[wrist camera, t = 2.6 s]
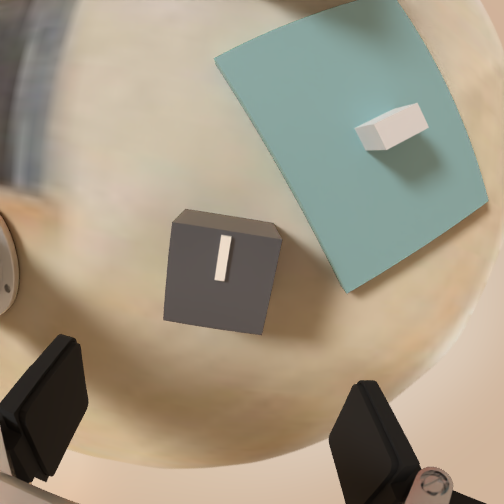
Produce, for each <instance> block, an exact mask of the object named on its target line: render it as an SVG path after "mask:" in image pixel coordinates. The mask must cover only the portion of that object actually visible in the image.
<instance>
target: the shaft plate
mask: <svg viewBox="0 0 504 504" xmlns="http://www.w3.org/2000/svg"><path fill="white" fill-rule="evenodd" d="M214 60H215V64H216V66H217V67H218V69H219V70H220V72H221V73H222V75H223V77H224V78H225V80H226V81H227V83H228V84H229V86H230V88H231V89H232V91H233V92H234V94H235V96H236V97H237V99H238V100H239V102H240V104H241V105H242V107H243V108H244V110H245V112H246V113H247V115H248V117H249V118H250V120H251V122H252V123H253V125H254V127H255V128H256V130H257V132H258V133H259V135H260V137H261V138H262V140H263V142H264V144H265V145H266V147H267V149H268V150H269V152H270V154H271V156H272V157H273V159H274V161H275V162H276V164H277V166H278V168H279V170H280V171H281V173H282V175H283V177H284V178H285V180H286V182H287V184H288V186H289V187H290V189H291V191H292V193H293V195H294V196H295V198H296V200H297V202H298V204H299V206H300V207H301V209H302V211H303V213H304V215H305V217H306V219H307V220H308V222H309V224H310V226H311V228H312V230H313V232H314V234H315V236H316V238H317V239H318V241H319V243H320V245H321V247H322V249H323V251H324V253H325V255H326V257H327V259H328V261H329V263H330V265H331V267H332V269H333V271H334V273H335V275H336V277H337V279H338V281H339V283H340V285H341V287H342V288H343V289H344V291H345V292H346V293H349V292H350V291H352V290H354V289H356V288H357V287H359V286H361V285H362V284H364V283H366V282H367V281H369V280H371V279H372V278H374V277H376V276H377V275H379V274H381V273H382V272H384V271H386V270H387V269H389V268H390V267H392V266H394V265H395V264H397V263H398V262H400V261H402V260H403V259H405V258H406V257H408V256H409V255H411V254H412V253H414V252H416V251H417V250H419V249H420V248H422V247H423V246H425V245H426V244H428V243H429V242H431V241H432V240H434V239H435V238H437V237H438V236H440V235H441V234H443V233H444V232H446V231H447V230H449V229H450V228H451V227H453V226H454V225H456V224H457V223H459V222H460V221H461V220H463V219H464V218H466V217H467V216H469V215H470V214H471V213H473V212H474V211H475V210H477V209H478V208H480V207H481V206H482V205H484V204H485V203H486V202H488V201H489V200H488V197H487V193H486V189H485V186H484V182H483V179H482V175H481V172H480V169H479V166H478V163H477V160H476V157H475V154H474V151H473V148H472V145H471V142H470V140H469V137H468V134H467V132H466V129H465V127H464V124H463V122H462V119H461V117H460V114H459V112H458V109H457V107H456V105H455V103H454V100H453V98H452V96H451V94H450V92H449V89H448V87H447V85H446V83H445V81H444V79H443V77H442V75H441V73H440V71H439V69H438V67H437V65H436V63H435V62H434V60H433V58H432V56H431V54H430V52H429V51H428V49H427V47H426V45H425V44H424V42H423V40H422V39H421V37H420V35H419V34H418V32H417V30H416V29H415V27H414V25H413V24H412V22H411V21H410V19H409V18H408V16H407V15H406V13H405V12H404V10H403V9H402V7H401V6H400V4H399V3H398V1H397V0H357V1H353V2H350V3H346V4H343V5H340V6H337V7H333V8H330V9H327V10H324V11H321V12H319V13H316V14H313V15H310V16H307V17H305V18H302V19H299V20H297V21H294V22H291V23H289V24H286V25H284V26H282V27H279V28H277V29H274V30H272V31H270V32H267V33H265V34H263V35H261V36H258V37H256V38H254V39H252V40H250V41H247V42H245V43H243V44H241V45H239V46H237V47H235V48H233V49H231V50H229V51H227V52H225V53H223V54H221V55H219V56H217V57H215V58H214Z"/></svg>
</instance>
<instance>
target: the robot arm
mask: <svg viewBox="0 0 504 504" xmlns="http://www.w3.org/2000/svg"><path fill="white" fill-rule="evenodd" d="M18 285H19V267H18V259H17V254H16V250H15V245H14V243H13V240H12V237H11V234H10V232H9V230H8V228H7V226H6V223H5V222H4V220H3V218H2V217H1V215H0V315H1V314H3V313H4V312H5V311H7V310H8V309H9V308H10V307H11V305H12V304H13V302H14V301H15V298H16V295H17V292H18ZM87 407H88V395H87V389H86V383H85V376H84V370H83V362H82V354H81V347H80V344H79V343H77V342H76V339H75V338H72V337H69V336H66V335H62V334H59V335H58V336H57V337H56V338H55V339H54V340H53V342H52V343H51V344H50V345H49V346H48V347H47V348H46V349H45V351H44V352H43V353H42V354H41V355H40V356H39V358H38V359H37V360H36V361H35V362H34V363H33V364H32V365H31V366H30V367H29V368H28V370H27V371H26V372H25V373H24V374H23V375H22V377H21V378H20V379H19V380H18V382H17V383H16V384H15V385H14V386H13V388H12V389H11V390H10V391H9V393H8V394H7V395H6V396H5V398H4V399H3V400H2V401H1V403H0V504H79V503H75V502H73V501H70V500H67V499H65V498H62V497H60V496H57V495H54V494H52V493H50V492H47V491H45V490H42V489H40V488H38V487H35V486H33V485H32V484H31V482H32V481H33V479H34V477H36V478H38V479H40V480H42V481H45V482H47V479H48V477H49V476H53V475H54V474H55V472H56V470H57V468H58V466H59V464H60V462H61V460H62V458H63V455H64V453H65V451H66V449H67V447H68V445H69V443H70V441H71V439H72V437H73V435H74V433H75V431H76V429H77V427H78V425H79V423H80V422H81V420H82V418H83V416H84V414H85V412H86V410H87ZM329 445H330V448H331V452H332V455H333V459H334V463H335V466H336V469H337V473H338V477H339V481H340V484H341V488H342V491H343V495H344V499H345V503H346V504H486V503H483V502H481V501H478V500H475V499H473V498H470V497H468V496H465V495H463V494H460V493H458V492H456V491H453V482H452V479H451V477H450V476H449V474H447V473H446V472H445V471H444V470H442V469H440V468H437V467H426V468H423V469H421V467H420V465H419V464H420V463H419V461H418V459H417V457H416V455H415V453H414V452H413V449H412V447H411V445H410V443H409V441H408V440H407V438H406V436H405V434H404V432H403V430H402V428H401V426H400V424H399V422H398V421H397V419H396V417H395V415H394V413H393V411H392V409H391V407H390V406H389V404H388V402H387V400H386V398H385V396H384V394H383V393H382V391H381V389H380V387H379V385H378V384H377V382H376V381H373V380H360V381H359V382H358V383H357V384H354V385H353V386H352V388H351V391H350V393H349V395H348V397H347V399H346V402H345V404H344V406H343V408H342V410H341V412H340V414H339V417H338V419H337V421H336V423H335V425H334V427H333V429H332V431H331V433H330V435H329Z"/></svg>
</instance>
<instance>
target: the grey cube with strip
mask: <svg viewBox="0 0 504 504" xmlns="http://www.w3.org/2000/svg"><path fill="white" fill-rule="evenodd" d="M281 243H282V238H281V236H280V235H279V233H278V231H277V229H276V227H275V225H274V223H269V222H264V221H258V220H252V219H246V218H239V217H233V216H227V215H221V214H214V213H208V212H202V211H195V210H188V209H185V210H184V211H183V212H182V213H181V214H180V215H179V216H178V217H177V218H176V219H175V220H174V221H173V222H172V229H171V238H170V247H169V256H168V267H167V278H166V289H165V302H164V317H163V320H166V321H171V322H177V323H183V324H189V325H195V326H201V327H208V328H214V329H221V330H228V331H235V332H242V333H250V334H258V335H262V332H263V327H264V323H265V318H266V314H267V309H268V305H269V300H270V295H271V291H272V286H273V281H274V277H275V272H276V267H277V263H278V258H279V253H280V248H281Z"/></svg>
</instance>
